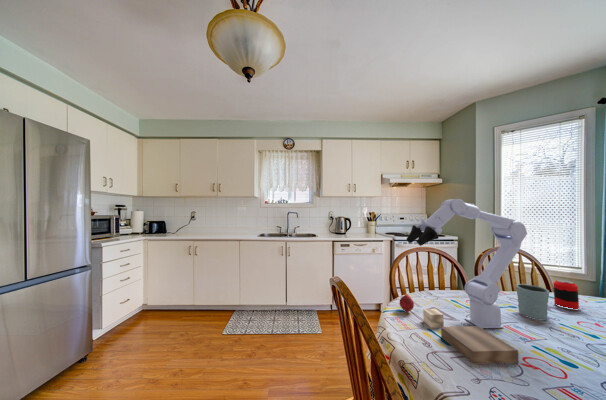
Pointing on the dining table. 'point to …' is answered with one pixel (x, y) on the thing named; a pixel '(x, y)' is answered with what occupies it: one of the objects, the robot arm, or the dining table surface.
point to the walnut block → (479, 345)
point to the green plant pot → (532, 301)
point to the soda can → (566, 294)
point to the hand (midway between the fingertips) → (413, 242)
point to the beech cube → (433, 318)
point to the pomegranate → (406, 303)
